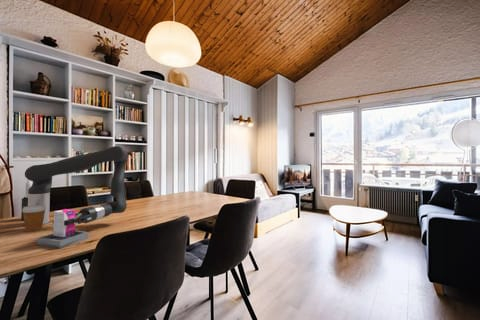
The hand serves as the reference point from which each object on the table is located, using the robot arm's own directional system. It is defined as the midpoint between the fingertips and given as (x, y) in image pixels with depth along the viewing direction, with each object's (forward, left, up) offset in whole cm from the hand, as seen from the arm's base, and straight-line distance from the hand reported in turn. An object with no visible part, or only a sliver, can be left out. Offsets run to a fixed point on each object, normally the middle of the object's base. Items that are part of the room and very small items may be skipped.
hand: (59, 222), depth 101 cm
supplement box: (0, +3, -7) cm, 7 cm away
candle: (-54, +23, -9) cm, 60 cm away
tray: (0, +2, -9) cm, 9 cm away
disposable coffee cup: (-30, +10, -9) cm, 33 cm away
